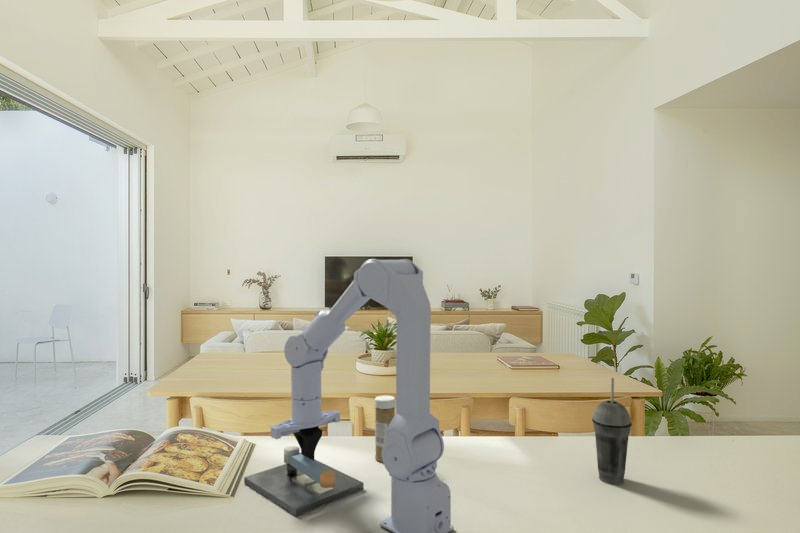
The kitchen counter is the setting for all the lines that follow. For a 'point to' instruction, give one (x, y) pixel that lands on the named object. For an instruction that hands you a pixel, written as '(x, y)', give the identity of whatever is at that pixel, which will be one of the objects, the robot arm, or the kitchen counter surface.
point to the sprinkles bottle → (383, 421)
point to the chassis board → (300, 488)
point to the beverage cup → (611, 439)
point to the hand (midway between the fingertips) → (307, 466)
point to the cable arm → (309, 467)
